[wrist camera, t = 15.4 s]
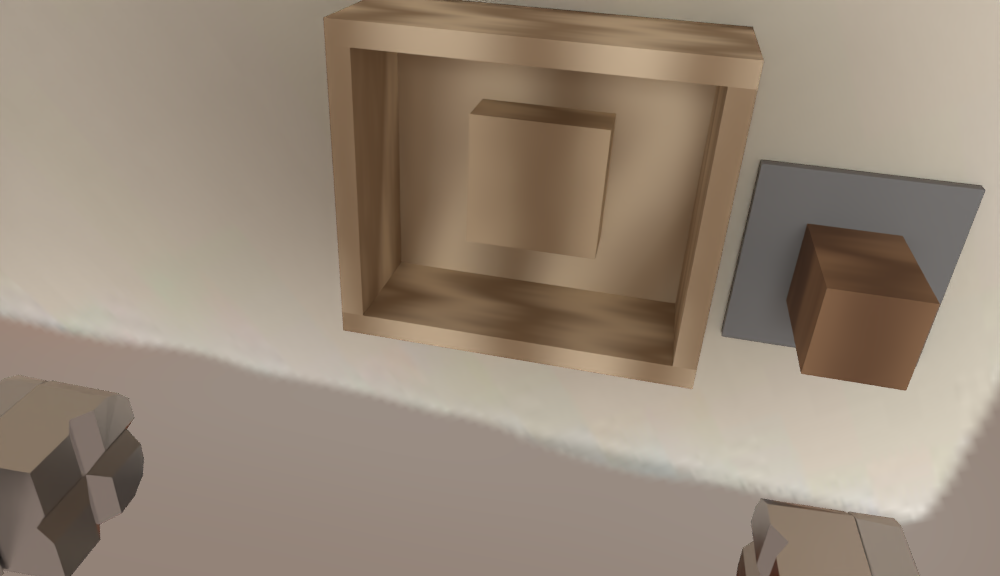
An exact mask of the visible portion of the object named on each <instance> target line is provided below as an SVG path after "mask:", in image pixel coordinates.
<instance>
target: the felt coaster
mask: <svg viewBox="0 0 1000 576" xmlns="http://www.w3.org/2000/svg"><path fill="white" fill-rule="evenodd" d="M984 193H985V189H984V188H983V187H982V186H980V185H971V184H963V183H954V182H946V181H937V180H929V179H920V178H912V177H903V176H895V175H887V174H878V173H870V172H861V171H853V170H844V169H836V168H827V167H819V166H810V165H802V164H793V163H785V162H777V161H768V160H761V162H760V166H759V171H758V175H757V179H756V184H755V188H754V192H753V197H752V201H751V205H750V210H749V214H748V218H747V223H746V227H745V231H744V236H743V240H742V244H741V249H740V253H739V257H738V262H737V266H736V270H735V275H734V279H733V283H732V288H731V292H730V296H729V301H728V305H727V309H726V314H725V318H724V322H723V327H722V336H724V337H730V338H736V339H743V340H749V341H756V342H762V343H768V344H775V345H781V346H788V347H794V348H796V346H795V341H794V336H793V331H792V326H791V321H790V317H789V312H788V307H787V302H786V299H787V296H788V292H789V288H790V285H791V281H792V277H793V274H794V270H795V266H796V263H797V259H798V256H799V252H800V248H801V245H802V241H803V237H804V234H805V230H806V226H807V223H808V224H816V225H823V226H831V227H839V228H846V229H854V230H862V231H869V232H877V233H885V234H892V235H900V236H903V237H904V239H905V241H906V243H907V245H908V247H909V248H910V250H911V252H912V254H913V256H914V258H915V259H916V261H917V263H918V265H919V267H920V269H921V270H922V272H923V274H924V276H925V278H926V280H927V281H928V283H929V285H930V287H931V289H932V291H933V292H934V294H935V296H936V298H937V300H938V302H939V303H940V305H941V302H942V300H943V297H944V294H945V292H946V289H947V287H948V284H949V282H950V279H951V277H952V274H953V272H954V269H955V266H956V264H957V261H958V259H959V256H960V254H961V251H962V249H963V246H964V244H965V241H966V239H967V236H968V233H969V231H970V228H971V226H972V223H973V221H974V218H975V216H976V213H977V211H978V208H979V205H980V203H981V200H982V198H983V195H984ZM939 307H940V306H939ZM938 310H939V308H938ZM937 312H938V311H937ZM936 315H937V313H936ZM935 317H936V316H935ZM934 320H935V318H934ZM933 322H934V321H933ZM932 325H933V323H932ZM931 327H932V326H931ZM930 330H931V328H930ZM929 333H930V331H929ZM928 335H929V334H928ZM927 338H928V336H927ZM926 340H927V339H926ZM925 343H926V341H925ZM924 345H925V344H924ZM923 348H924V346H923ZM922 350H923V349H922ZM921 353H922V351H921ZM920 355H921V354H920ZM919 358H920V356H919ZM918 361H919V359H918ZM917 363H918V362H917ZM916 366H917V364H916Z"/></svg>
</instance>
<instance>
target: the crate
mask: <svg viewBox="0 0 1000 576" xmlns="http://www.w3.org/2000/svg"><path fill="white" fill-rule="evenodd" d="M323 19H324V35H325V50H326V66H327V82H328V97H329V113H330V128H331V144H332V159H333V175H334V191H335V206H336V222H337V237H338V253H339V268H340V284H341V299H342V315H343V330H345V331H351V332H357V333H363V334H369V335H375V336H380V337H386V338H392V339H398V340H404V341H410V342H416V343H422V344H428V345H434V346H440V347H446V348H452V349H458V350H464V351H470V352H476V353H482V354H487V355H493V356H499V357H505V358H511V359H517V360H523V361H529V362H535V363H541V364H547V365H553V366H559V367H565V368H571V369H577V370H583V371H589V372H594V373H600V374H606V375H612V376H618V377H624V378H630V379H636V380H642V381H648V382H654V383H660V384H666V385H672V386H678V387H684V388H690V389H692V388H693V384H694V379H695V375H696V370H697V365H698V361H699V356H700V352H701V347H702V342H703V338H704V333H705V329H706V324H707V319H708V315H709V310H710V306H711V301H712V296H713V292H714V287H715V283H716V278H717V273H718V269H719V264H720V260H721V255H722V251H723V246H724V241H725V237H726V232H727V228H728V223H729V218H730V214H731V209H732V205H733V200H734V195H735V191H736V186H737V182H738V177H739V172H740V168H741V163H742V159H743V154H744V149H745V145H746V140H747V136H748V131H749V127H750V122H751V117H752V113H753V108H754V104H755V99H756V94H757V90H758V85H759V81H760V76H761V71H762V67H763V62H764V60H763V57H762V54H761V51H760V48H759V45H758V42H757V39H756V36H755V33H754V30H753V27H747V26H736V25H725V24H714V23H703V22H692V21H681V20H670V19H659V18H648V17H637V16H626V15H615V14H604V13H593V12H582V11H571V10H560V9H549V8H538V7H527V6H516V5H505V4H494V3H483V2H472V1H461V0H362V1H360V2H358V3H356V4H353V5H351V6H349V7H346V8H344V9H342V10H340V11H337V12H335V13H333V14H330V15H328V16H326V17H324V18H323Z"/></svg>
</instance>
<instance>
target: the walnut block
mask: <svg viewBox="0 0 1000 576" xmlns="http://www.w3.org/2000/svg"><path fill="white" fill-rule="evenodd" d="M786 302H787V307H788V312H789V317H790V321H791V326H792V331H793V336H794V341H795V346H796V351H797V356H798V361H799V365H800V370H801V374H807V375H813V376H819V377H826V378H832V379H838V380H844V381H850V382H857V383H863V384H869V385H875V386H881V387H888V388H894V389H900V390H907V387H908V384H909V382H910V379H911V377H912V374H913V372H914V369H915V367H916V364H917V362H918V359H919V356H920V354H921V351H922V349H923V346H924V344H925V341H926V339H927V336H928V334H929V331H930V328H931V326H932V323H933V321H934V318H935V316H936V313H937V311H938V308H939V306H940V303H939V302H938V300H937V298H936V296H935V294H934V292H933V291H932V289H931V287H930V285H929V283H928V281H927V280H926V278H925V276H924V274H923V272H922V270H921V269H920V267H919V265H918V263H917V261H916V259H915V258H914V256H913V254H912V252H911V250H910V248H909V247H908V245H907V243H906V241H905V239H904V237H903V236H900V235H892V234H885V233H877V232H869V231H862V230H854V229H846V228H839V227H831V226H823V225H816V224H808V223H807V226H806V230H805V234H804V237H803V241H802V245H801V248H800V252H799V256H798V259H797V263H796V266H795V270H794V274H793V277H792V281H791V285H790V288H789V292H788V296H787V299H786Z"/></svg>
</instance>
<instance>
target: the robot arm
mask: <svg viewBox="0 0 1000 576" xmlns="http://www.w3.org/2000/svg"><path fill="white" fill-rule="evenodd" d="M133 419H134V414H133V411H132V408H131V404H130V401H129V398H127V397H125V396H123V395H121V394H119V393H115V392H109V391H104V390H99V389H93V388H88V387H83V386H78V385H73V384H67V383H62V382H57V381H46V380H42V379H36V378H31V377H26V376H22V375H16V376H12V377H8V378H4V379H3V380H1V382H0V576H2V575H3V574H4V572H3V570H4V571H10V572H16V573H22V574H28V575H35V576H71V575H72V574H73V573H74V572H75V570H76V569H77V568H78V566H79V565H80V564H81V563H82V562H83V560H84V559H85V558H86V557H87V556H88V554H89V553H90V552H91V551H92V549H93V548H94V547H95V546H96V544H97V543H98V542H99V541H100V524H102V523H104V522H106V521H108V520H110V519H112V518H113V517H115V516H117V515H119V514H121V513H122V512H123V511H124V509H125V508H126V507H127V506H128V504H129V503H130V502H131V500H132V499H133V498H134V496H135V494H136V491H137V489H138V486H139V484H140V481H141V479H142V476H143V464H144V457H143V452H142V447H141V444H140V443H139V442H138V440H137V439H135V437H134V436H133V435H132V434H131V433H130V432H129V431H128V430H127V428H128V427H129V425H130V424H131V422H132V421H133ZM751 526H752V534H753V542H751V543H749V544H748V545H746V546H745V547H743V549H742V553H741V556H740V560H739V563H738V567H737V574H736V576H920V575H919V572H918V570H917V567H916V564H915V561H914V559H913V556H912V553H911V551H910V548H909V545H908V543H907V540H906V538H905V535H904V532H903V529H902V527H901V525H900V524H899V523H898V522H897V521H896V520H895V519H894V518H888V517H881V516H875V515H868V514H861V513H855V512H848V513H846V512H844V511H838V510H832V509H826V508H819V507H813V506H806V505H800V504H794V503H787V502H781V501H774V500H768V499H762V498H761V499H760V501H759V503H758V504H757V506H756V507H755V511H754V514H753V517H752V520H751Z"/></svg>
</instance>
